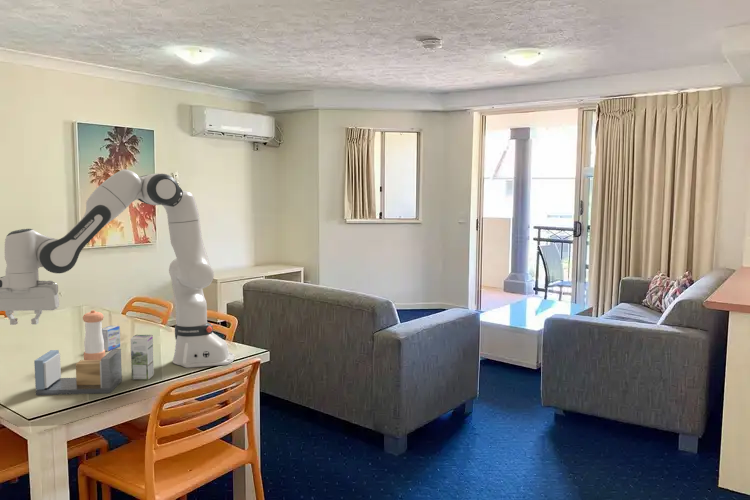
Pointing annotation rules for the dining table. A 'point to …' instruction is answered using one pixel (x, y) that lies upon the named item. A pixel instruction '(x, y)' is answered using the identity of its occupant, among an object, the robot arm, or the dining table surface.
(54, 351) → the vise jaw
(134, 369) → the syrup box
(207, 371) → the dining table surface
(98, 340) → the pepper shaker
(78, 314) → the dining table surface
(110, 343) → the medicine box
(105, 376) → the vise
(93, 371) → the wooden block
